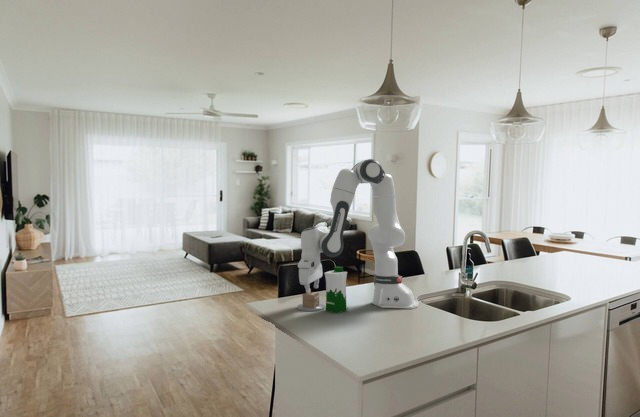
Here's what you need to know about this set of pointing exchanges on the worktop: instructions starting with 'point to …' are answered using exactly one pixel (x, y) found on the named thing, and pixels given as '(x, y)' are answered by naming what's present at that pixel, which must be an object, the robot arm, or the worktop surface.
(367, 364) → the worktop surface
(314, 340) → the worktop surface
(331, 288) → the soya milk
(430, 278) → the worktop surface
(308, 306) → the letter cube
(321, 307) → the coaster
